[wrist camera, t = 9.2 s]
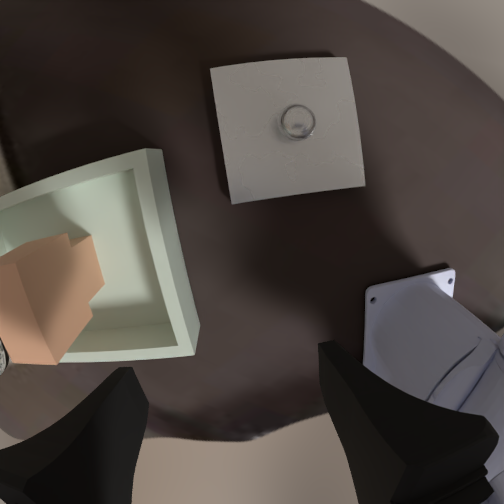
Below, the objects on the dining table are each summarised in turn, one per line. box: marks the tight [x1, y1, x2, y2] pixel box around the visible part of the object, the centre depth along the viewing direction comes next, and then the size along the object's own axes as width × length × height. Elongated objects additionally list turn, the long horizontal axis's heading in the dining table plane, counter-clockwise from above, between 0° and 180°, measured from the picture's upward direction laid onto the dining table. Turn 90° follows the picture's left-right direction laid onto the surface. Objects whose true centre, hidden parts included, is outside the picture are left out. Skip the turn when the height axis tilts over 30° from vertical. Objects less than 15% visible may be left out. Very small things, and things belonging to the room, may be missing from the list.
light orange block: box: [0, 233, 105, 365], centre depth 15 cm, size 3×5×8 cm, turn 8°
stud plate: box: [210, 57, 365, 204], centre depth 15 cm, size 8×8×4 cm
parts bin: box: [0, 148, 200, 362], centre depth 17 cm, size 12×15×4 cm
